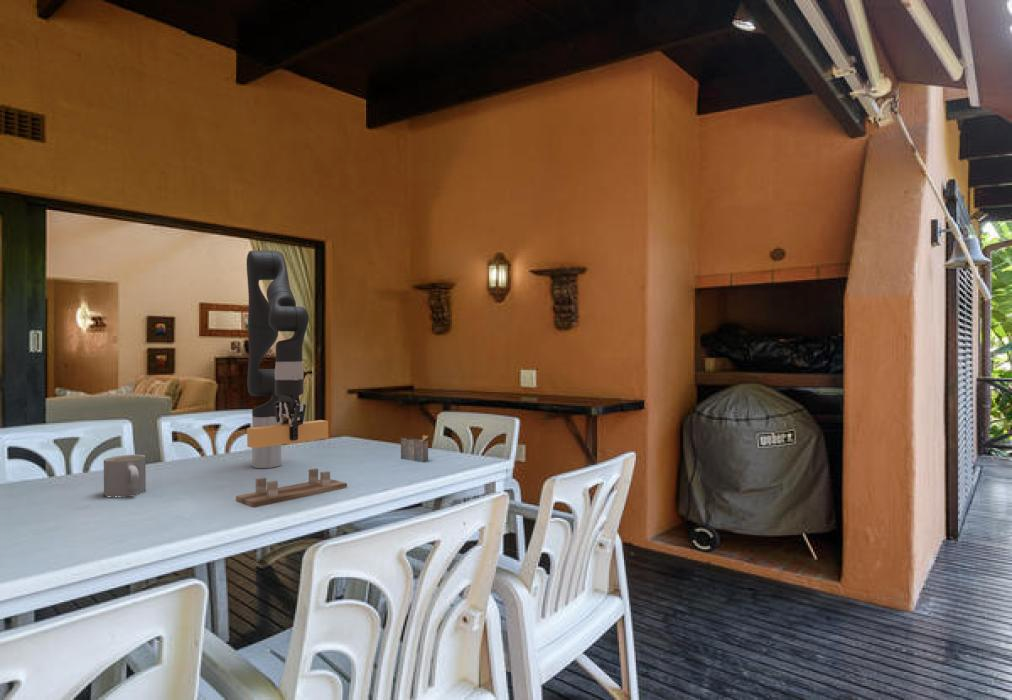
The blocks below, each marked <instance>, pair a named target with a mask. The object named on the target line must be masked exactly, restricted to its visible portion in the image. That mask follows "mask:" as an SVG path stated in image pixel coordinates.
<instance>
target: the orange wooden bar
mask: <svg viewBox="0 0 1012 700" xmlns="http://www.w3.org/2000/svg"><path fill="white" fill-rule="evenodd" d="M289 427H290V425H289V424H279V425H270V426H261V427H247V428H246V431H247V432H246V437H247V438H246V439H247V441H246V443H247V444H246V445H247V448H250V449H252V448H260V447H268V446H275V445H281V446H282V445H289V444H295V443H304V442H311V441H318V440H326V439H327V440H328V439H329V420H323V419H317V420H308V421H303V424H302V425H299V426H298V440H293V441H292V440H290V432H289Z"/></svg>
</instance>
